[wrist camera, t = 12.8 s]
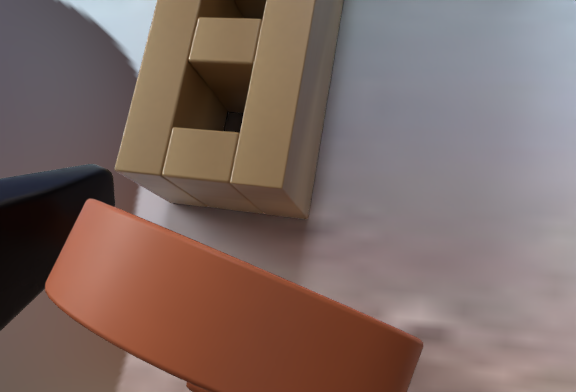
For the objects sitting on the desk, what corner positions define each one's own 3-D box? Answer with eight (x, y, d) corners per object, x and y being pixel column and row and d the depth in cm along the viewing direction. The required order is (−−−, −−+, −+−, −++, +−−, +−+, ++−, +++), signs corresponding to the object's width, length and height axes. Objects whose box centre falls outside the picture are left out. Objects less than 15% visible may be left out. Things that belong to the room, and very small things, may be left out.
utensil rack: (168, 202, 20) (113, 170, 16) (234, -87, 23) (200, -171, 19) (308, 219, 19) (282, 188, 15) (358, -90, 22) (347, -182, 18)
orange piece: (393, 399, 16) (327, 629, 3) (279, 346, 18) (-104, 359, 4) (414, 342, 17) (432, 342, 4) (300, 293, 18) (3, 159, 5)
